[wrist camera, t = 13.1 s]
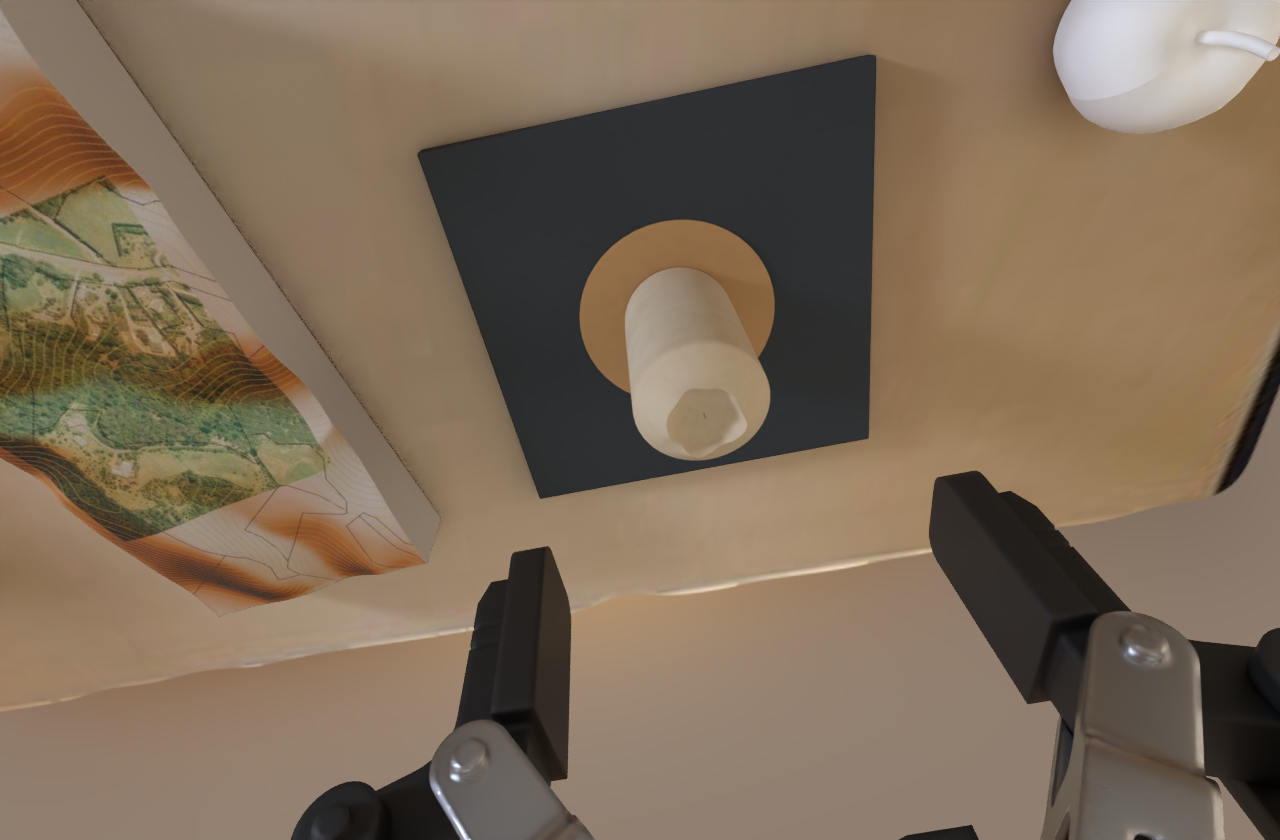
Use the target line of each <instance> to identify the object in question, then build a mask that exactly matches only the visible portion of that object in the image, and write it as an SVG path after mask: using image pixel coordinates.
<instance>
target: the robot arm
mask: <svg viewBox="0 0 1280 840" xmlns="http://www.w3.org/2000/svg"><path fill="white" fill-rule="evenodd" d="M929 539H930V544H931V548H932V551H933V554H934V556H935V558H936V560H937V562H938V563H939V565H940V567H941V568H942V570H943V571H944V573H945V575H946V576H947V578H948V579H949V581H950V582H951V584H952V586H953V587H954V589H955V590H956V592H957V593H958V595H959V596H960V598H961V600H962V601H963V603H964V604H965V606H966V608H967V609H968V611H969V612H970V614H971V615H972V617H973V619H974V620H975V622H976V624H977V625H978V627H979V628H980V630H981V631H982V633H983V634H984V636H985V638H986V639H987V641H988V643H989V644H990V645H991V647H992V649H993V650H994V652H995V653H996V655H997V657H998V658H999V660H1000V661H1001V663H1002V665H1003V666H1004V668H1005V669H1006V671H1007V672H1008V674H1009V676H1010V677H1011V679H1012V680H1013V682H1014V684H1015V685H1016V687H1017V688H1018V690H1019V692H1020V693H1021V695H1022V696H1023V698H1024V699H1025V701H1026V702H1027V704H1032V703H1038V702H1044V701H1050V700H1051V702H1052V703H1053V705H1054V706H1055V708H1056V709H1057V711H1058V712H1059V714H1060V716H1059V719H1058V723H1057V730H1056V738H1055V745H1054V753H1053V761H1052V769H1051V776H1050V784H1049V791H1048V799H1047V807H1046V814H1045V820H1044V825H1043V830H1042V834H1041V838H1040V840H1224V825H1223V808H1222V797H1221V792H1220V788H1219V786H1218V784H1217V782H1216V781H1214V780H1212V779H1209V778H1207V777H1206V776H1212V777H1218V778H1219V779H1220V780H1221V782H1222V783H1223V784H1224V786H1225V787H1226V788H1227V790H1228V791H1229V792H1230V794H1231V795H1232V796H1233V798H1234V799H1235V800H1236V802H1237V803H1238V804H1239V806H1240V807H1241V808H1242V810H1243V811H1244V812H1245V813H1246V815H1247V816H1248V818H1249V819H1250V820H1251V821H1252V823H1253V824H1254V826H1255V827H1256V828H1257V830H1258V831H1259V832H1260V834H1261V835H1262V836H1263V837H1264V839H1265V840H1280V628H1276V629H1273V630H1271V631H1268V632H1267V633H1266V634H1264V635H1263V637H1262V638H1261V640H1260V641H1259V643H1258V645H1257V646H1256V647H1249V646H1238V645H1229V644H1220V643H1210V642H1201V641H1194V640H1188V639H1186V638H1185V637H1184V636H1183V635H1182V634H1180V632H1179V631H1177V630H1176V629H1174V628H1173V627H1171V626H1170V625H1168V624H1166V623H1164V622H1162V621H1160V620H1158V619H1156V618H1153V617H1151V616H1148V615H1145V614H1141V613H1136V612H1132V611H1131V610H1130V609H1129V608H1128V607H1127V606H1126V605H1125V604H1124V603H1123V602H1122V601H1121V600H1120V598H1119V597H1118V596H1117V595H1116V594H1115V593H1114V592H1113V591H1112V589H1111V588H1110V587H1109V586H1108V585H1107V584H1106V583H1105V582H1104V581H1103V579H1102V578H1101V577H1100V576H1099V575H1098V574H1097V573H1096V572H1095V571H1094V570H1093V568H1092V567H1091V566H1090V565H1089V564H1088V563H1087V562H1086V561H1085V560H1084V559H1083V557H1082V556H1081V555H1080V554H1079V553H1078V552H1077V551H1076V550H1075V548H1074V547H1070V545H1069V542H1068V541H1067V540H1066V539H1065V538H1064V536H1063V535H1062V534H1061V533H1060V532H1059V531H1058V530H1055V528H1054V525H1053V524H1052V523H1051V522H1050V521H1049V520H1048V518H1047V517H1046V516H1045V515H1044V514H1043V513H1042V512H1041V511H1040V510H1039V508H1038V507H1037V506H1035V505H1033V504H1032V503H1030V502H1028V501H1027V500H1025V499H1023V498H1022V497H1020V496H1018V495H1017V494H1015V493H1013V492H1012V491H1007V492H1002V493H998V492H997V491H996V490H995V488H994V487H993V486H992V485H991V484H990V483H989V481H988V480H987V479H986V478H985V477H984V476H983V475H982V474H981V473H980V472H978V471H970V472H965V473H959V474H953V475H948V476H942V477H938V478H937V479H936V480H935V483H934V490H933V499H932V508H931V517H930V526H929ZM570 650H571V613H570V606H569V601H568V596H567V593H566V590H565V587H564V585H563V582H562V579H561V576H560V573H559V571H558V568H557V565H556V562H555V559H554V557H553V554H552V551H551V549H550V548H549V547H548V546H547V547H541V548H536V549H530V550H524V551H519V552H514V553H513V554H512V557H511V562H510V569H509V577H508V579H507V580H501V581H496V582H491V584H490V585H489V587H488V589H487V590H486V592H485V593H484V595H483V597H482V598H481V600H480V601H479V603H478V606H477V612H476V617H475V623H474V631H473V635H472V640H471V650H470V651H469V656H468V662H467V667H466V673H465V678H464V684H463V689H462V696H461V700H460V706H459V712H458V717H457V721H456V725H455V728H454V730H453V732H452V733H451V734H449V735H448V736H447V737H446V738H445V739H444V741H443V742H442V743H441V744H440V746H439V747H438V749H437V751H436V752H435V754H434V756H433V759H432V760H431V761H430V762H428V763H427V764H426V765H424V766H423V767H421V768H420V769H418V770H416V771H414V772H412V773H411V774H409V775H407V776H405V777H403V778H401V779H399V780H397V781H395V782H393V783H391V784H389V785H387V786H385V787H383V788H381V789H379V790H377V791H375V790H374V789H373V788H372V787H371V786H370V785H368V784H366V783H363V782H356V781H353V782H346V783H343V784H340V785H337V786H335V787H333V788H331V789H330V790H328V791H326V792H325V793H324V794H322V795H321V796H320V797H319V798H317V799H316V800H315V801H314V802H313V803H312V804H311V805H310V806H309V807H308V809H307V810H306V811H305V812H304V814H303V815H302V817H301V818H300V820H299V821H298V824H297V825H296V827H295V829H294V832H293V835H292V837H291V840H595V839H594V838H593V836H592V835H591V834H590V832H589V831H588V830H587V828H586V827H585V826H584V825H583V824H582V823H581V821H580V820H579V819H578V818H577V817H576V816H575V815H572V814H570V812H569V811H568V810H567V809H566V808H565V806H564V805H563V804H562V802H561V801H560V800H559V798H558V797H557V796H556V795H555V793H554V792H553V791H552V789H551V788H550V785H551V781H556V780H561V779H567V773H568V770H567V769H568V732H569V690H570ZM899 840H979V839H978V837H977V835H976V833H975V831H974V829H973V826H972V825H969V826H963V827H956V828H950V829H943V830H938V831H931V832H925V833H919V834H913V835H907V836H905V837H903V838H901V839H899Z"/></svg>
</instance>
